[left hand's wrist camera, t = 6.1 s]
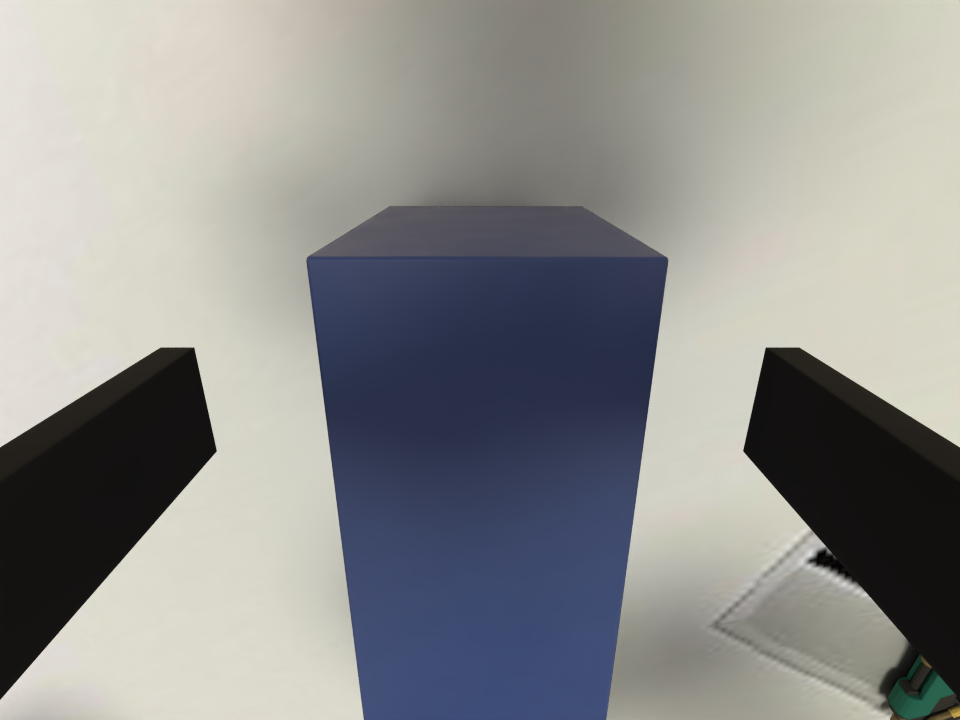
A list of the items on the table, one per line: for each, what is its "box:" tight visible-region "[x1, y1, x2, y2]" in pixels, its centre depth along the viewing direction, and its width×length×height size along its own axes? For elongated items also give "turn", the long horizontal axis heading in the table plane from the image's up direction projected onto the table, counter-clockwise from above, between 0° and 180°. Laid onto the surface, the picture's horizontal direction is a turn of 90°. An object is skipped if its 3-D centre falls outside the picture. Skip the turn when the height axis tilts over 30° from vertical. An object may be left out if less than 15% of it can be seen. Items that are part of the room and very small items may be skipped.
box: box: [306, 206, 668, 720], centre depth 20 cm, size 28×7×10 cm, turn 0°
